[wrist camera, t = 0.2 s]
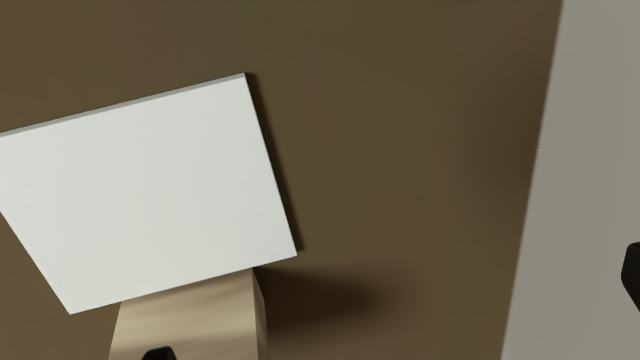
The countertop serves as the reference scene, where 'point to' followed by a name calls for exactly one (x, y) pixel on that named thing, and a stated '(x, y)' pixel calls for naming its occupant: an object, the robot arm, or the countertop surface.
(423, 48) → the countertop surface
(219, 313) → the beige and teal box
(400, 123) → the countertop surface
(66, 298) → the flat white panel
